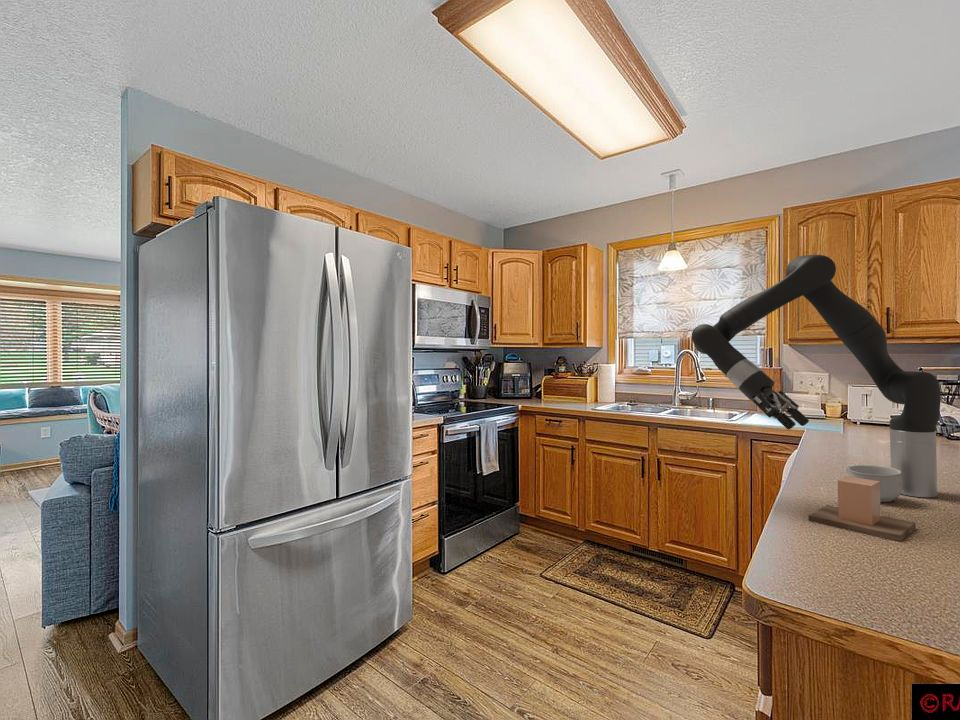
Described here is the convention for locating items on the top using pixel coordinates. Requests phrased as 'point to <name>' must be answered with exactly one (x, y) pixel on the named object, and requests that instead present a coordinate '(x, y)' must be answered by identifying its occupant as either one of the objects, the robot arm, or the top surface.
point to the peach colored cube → (859, 500)
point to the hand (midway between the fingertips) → (799, 425)
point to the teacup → (879, 479)
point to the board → (882, 528)
